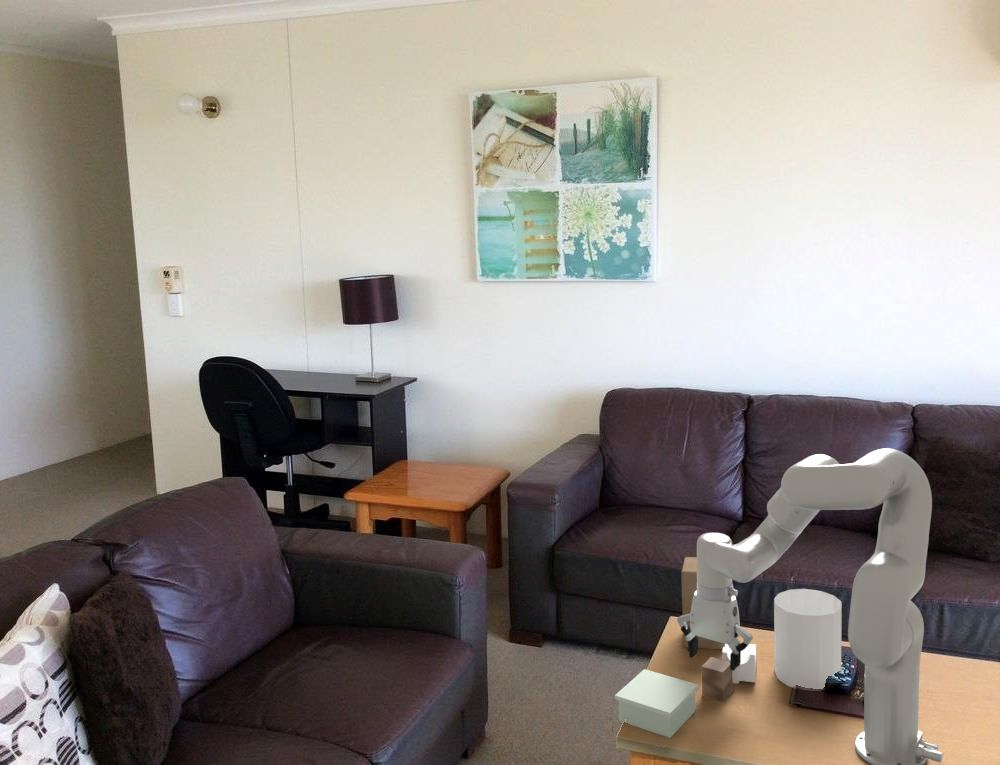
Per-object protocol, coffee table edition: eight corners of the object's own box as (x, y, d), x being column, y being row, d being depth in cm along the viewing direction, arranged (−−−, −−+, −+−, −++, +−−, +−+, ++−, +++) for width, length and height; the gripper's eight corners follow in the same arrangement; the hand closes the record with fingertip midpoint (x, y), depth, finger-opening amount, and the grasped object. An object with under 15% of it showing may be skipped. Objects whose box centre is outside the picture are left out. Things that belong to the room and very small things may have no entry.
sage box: (698, 710, 187) (698, 684, 186) (671, 740, 177) (670, 713, 176) (645, 693, 195) (644, 669, 194) (615, 721, 185) (614, 695, 184)
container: (797, 696, 190) (796, 620, 187) (762, 666, 204) (761, 594, 201) (855, 685, 194) (855, 609, 190) (817, 655, 207) (817, 584, 204)
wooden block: (683, 647, 215) (681, 571, 212) (686, 629, 225) (684, 556, 221) (724, 650, 212) (723, 573, 209) (726, 632, 222) (725, 558, 218)
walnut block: (732, 691, 194) (732, 662, 193) (723, 701, 190) (722, 672, 189) (711, 685, 197) (711, 656, 196) (702, 695, 193) (701, 666, 192)
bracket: (755, 686, 196) (754, 655, 195) (722, 683, 198) (722, 652, 197) (756, 658, 208) (755, 629, 207) (725, 655, 210) (725, 626, 209)
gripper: (759, 592, 187) (758, 665, 190) (685, 575, 198) (685, 644, 201) (745, 605, 181) (744, 680, 185) (670, 586, 192) (670, 657, 195)
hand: (713, 661), depth 193 cm, fingers open, 9 cm apart
